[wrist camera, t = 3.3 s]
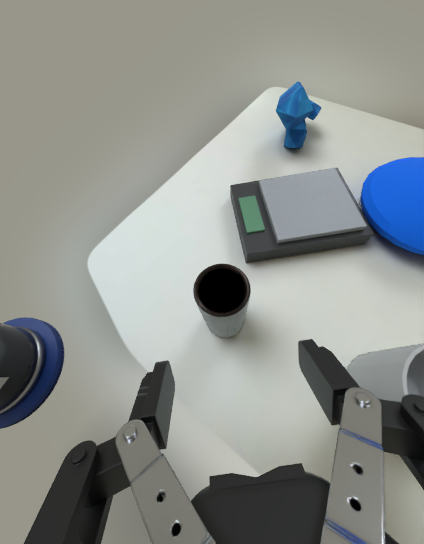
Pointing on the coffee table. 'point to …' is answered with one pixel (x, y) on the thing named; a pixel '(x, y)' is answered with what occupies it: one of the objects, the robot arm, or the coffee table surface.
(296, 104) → the crystal
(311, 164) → the coffee table surface
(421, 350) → the cup
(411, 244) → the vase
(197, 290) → the grey cylindrical tube
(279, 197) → the scale
